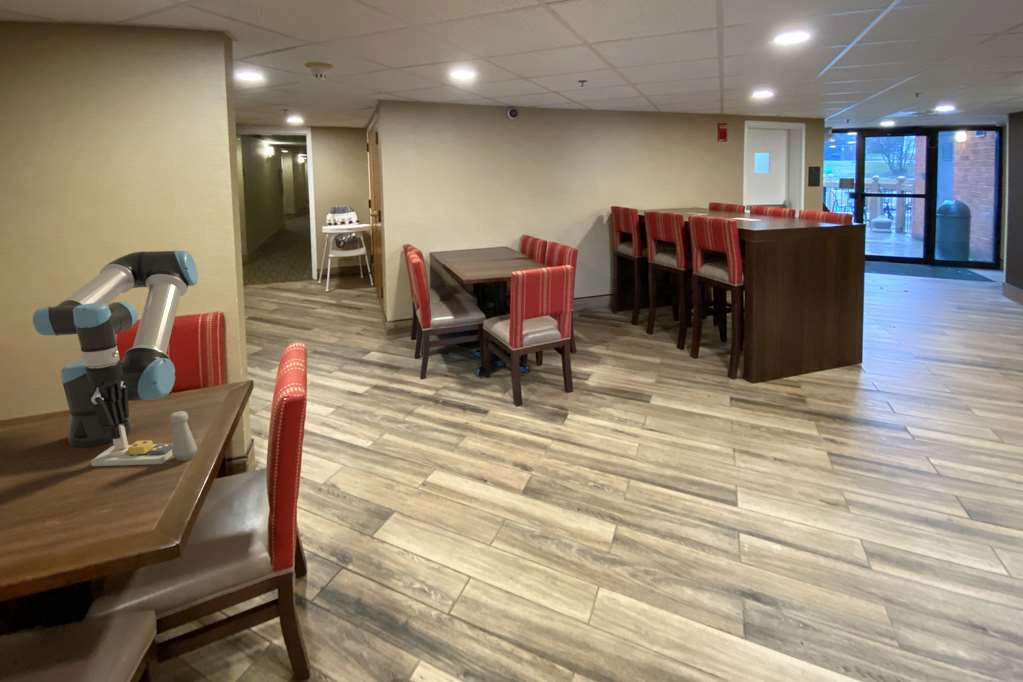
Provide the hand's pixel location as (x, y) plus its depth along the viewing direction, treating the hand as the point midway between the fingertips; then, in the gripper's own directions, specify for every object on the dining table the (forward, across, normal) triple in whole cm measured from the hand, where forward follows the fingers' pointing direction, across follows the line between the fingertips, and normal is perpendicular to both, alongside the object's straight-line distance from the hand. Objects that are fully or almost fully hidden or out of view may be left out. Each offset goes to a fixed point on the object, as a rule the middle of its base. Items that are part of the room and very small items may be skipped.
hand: (121, 447), depth 151 cm
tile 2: (+1, 0, -5) cm, 5 cm away
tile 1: (+2, 0, 0) cm, 2 cm away
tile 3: (+2, 0, -10) cm, 10 cm away
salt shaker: (+3, -2, -17) cm, 18 cm away
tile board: (+3, 0, -4) cm, 5 cm away
